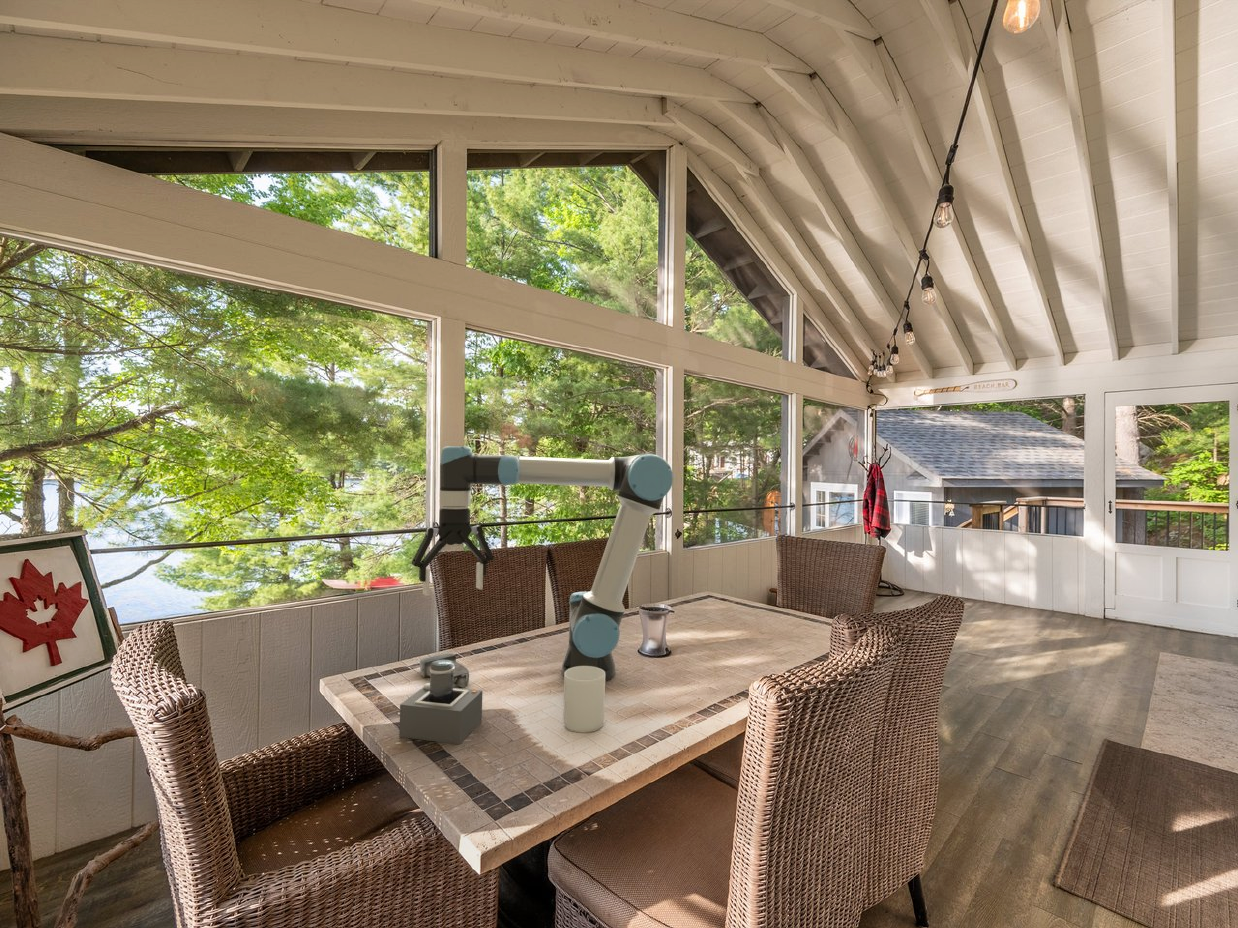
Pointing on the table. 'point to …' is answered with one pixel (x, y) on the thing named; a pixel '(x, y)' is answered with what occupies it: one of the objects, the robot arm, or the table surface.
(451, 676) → the lens
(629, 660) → the table surface
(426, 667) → the handheld device
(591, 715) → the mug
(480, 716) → the grey planter box
